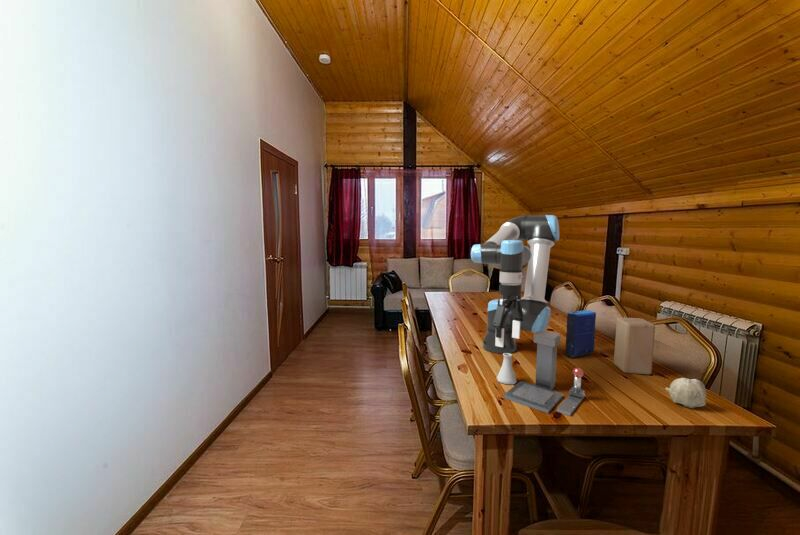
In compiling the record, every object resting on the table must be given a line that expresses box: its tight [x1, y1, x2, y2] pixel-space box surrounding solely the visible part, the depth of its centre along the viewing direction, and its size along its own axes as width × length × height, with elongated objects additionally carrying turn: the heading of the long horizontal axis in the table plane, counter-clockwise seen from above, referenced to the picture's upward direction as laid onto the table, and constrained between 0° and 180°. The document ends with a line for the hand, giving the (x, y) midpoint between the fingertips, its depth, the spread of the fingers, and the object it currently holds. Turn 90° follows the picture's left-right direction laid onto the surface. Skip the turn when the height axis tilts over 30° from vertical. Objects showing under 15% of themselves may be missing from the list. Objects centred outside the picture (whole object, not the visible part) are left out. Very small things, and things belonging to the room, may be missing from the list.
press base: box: [503, 330, 586, 417], centre depth 110 cm, size 19×20×19 cm
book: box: [564, 309, 597, 358], centre depth 148 cm, size 14×5×20 cm, turn 115°
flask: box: [496, 353, 518, 385], centre depth 122 cm, size 7×7×10 cm
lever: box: [568, 367, 585, 397], centre depth 110 cm, size 4×4×9 cm
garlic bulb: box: [665, 377, 707, 409], centre depth 105 cm, size 9×8×10 cm
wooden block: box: [613, 316, 656, 375], centre depth 133 cm, size 10×10×20 cm
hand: (507, 342), depth 121 cm, fingers open, 13 cm apart
